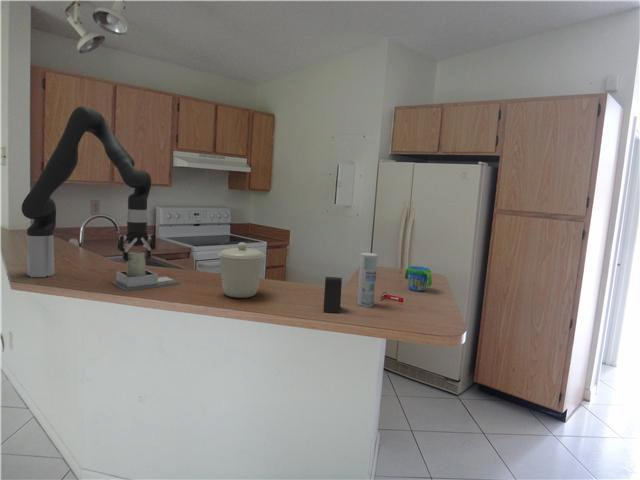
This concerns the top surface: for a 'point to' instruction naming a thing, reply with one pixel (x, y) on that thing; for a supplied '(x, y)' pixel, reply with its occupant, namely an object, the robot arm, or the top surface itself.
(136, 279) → the board
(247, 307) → the top surface
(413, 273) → the snack cup
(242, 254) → the canister
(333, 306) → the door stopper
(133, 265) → the skincare box
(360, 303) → the spray can
